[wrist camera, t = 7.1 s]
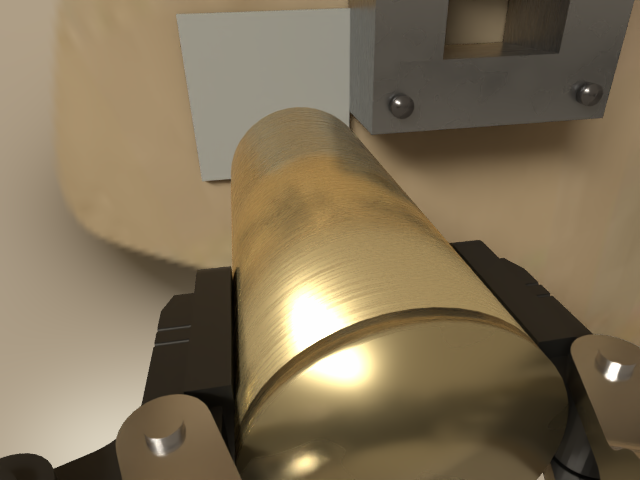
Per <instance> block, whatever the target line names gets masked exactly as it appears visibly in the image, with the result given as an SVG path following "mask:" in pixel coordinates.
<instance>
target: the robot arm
mask: <svg viewBox="0 0 640 480" xmlns="http://www.w3.org/2000/svg"><path fill="white" fill-rule="evenodd" d="M449 244H450V245H451V246H452V247H453V249H454V250H455V251H456V252H457V253H458V254H459V256H460V257H461V258H462V259H463V260H464V261H465V263H466V264H467V265H468V266H469V267H470V268H471V269H472V271H473V272H474V273H475V274H476V275H477V276H478V278H479V279H480V280H481V281H482V282H483V283H484V285H485V286H486V287H487V288H488V289H489V290H490V291H491V293H492V294H493V295H494V296H495V297H496V298H497V300H498V301H499V302H500V303H501V304H502V305H503V307H504V308H505V309H506V310H507V311H508V312H509V313H510V315H511V316H512V317H513V318H514V319H515V320H516V322H517V323H518V324H519V325H520V326H521V327H522V329H523V330H524V331H525V332H526V333H527V334H528V335H529V337H530V338H531V339H532V340H533V341H534V342H535V344H536V345H537V346H538V347H539V348H540V349H541V351H542V352H543V353H544V354H545V355H546V356H547V357H548V359H549V360H550V361H551V362H552V363H553V364H554V366H555V367H556V369H557V370H558V372H559V374H560V375H561V377H562V379H563V382H564V385H565V388H566V391H567V397H568V406H569V407H568V419H567V424H566V428H565V432H564V435H563V438H562V440H561V442H560V445H559V447H558V449H557V451H556V453H555V455H554V456H553V458H552V460H551V461H550V463H549V464H548V466H547V467H546V468H545V470H544V471H543V475H544V479H545V480H640V347H638V346H636V345H634V344H632V343H630V342H628V341H625V340H623V339H620V338H617V337H612V336H608V335H598V334H592V333H591V332H590V331H589V330H588V329H587V328H586V327H585V326H584V325H583V324H582V323H581V322H580V321H579V320H577V319H576V318H575V317H574V316H573V315H572V314H571V313H570V312H569V311H568V310H567V309H566V308H565V307H564V306H563V305H562V304H561V303H560V302H559V301H558V300H556V299H555V298H554V297H553V296H550V293H549V292H548V291H547V290H546V289H545V288H544V287H543V286H542V285H538V281H537V280H535V279H534V278H533V277H532V276H531V275H530V274H529V273H528V272H527V271H526V270H525V269H524V268H522V267H520V266H518V265H516V264H514V263H512V262H510V261H508V260H507V259H505V258H500V259H499V258H498V257H497V256H496V255H495V254H494V253H493V252H492V251H491V250H490V249H489V248H488V247H487V246H486V245H485V244H484V243H483V242H482V241H480V240H474V241H465V242H456V243H449ZM234 417H235V369H234V306H233V275H232V269H231V266H229V267H220V268H211V269H201V270H197V274H196V284H195V292H194V293H191V294H182V295H174V296H173V298H172V299H171V300H170V301H169V302H168V304H167V305H166V306H165V307H164V309H163V310H162V311H161V314H160V319H159V324H158V332H157V334H156V338H155V347H154V348H153V353H152V357H151V362H150V367H149V372H148V377H147V382H146V386H145V391H144V396H143V401H142V405H141V406H140V407H139V408H138V409H136V410H135V411H134V412H133V413H132V414H131V415H130V416H129V417H128V418H127V419H126V420H125V422H124V423H123V424H122V426H121V428H120V430H119V432H118V435H117V438H116V439H115V440H114V441H112V442H111V443H110V444H108V445H106V446H105V447H103V448H101V449H99V450H97V451H95V452H93V453H90V454H88V455H86V456H83V457H81V458H78V459H76V460H73V461H71V462H69V463H66V464H64V465H62V466H59V467H57V468H54V469H53V467H52V465H51V464H50V463H49V461H48V460H46V459H45V458H43V457H42V456H38V455H36V454H29V453H25V454H15V455H10V456H6V457H3V458H0V480H242V479H241V477H240V475H239V473H238V470H237V468H236V466H235V441H234Z"/></svg>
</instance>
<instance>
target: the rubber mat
mask: <svg viewBox="0 0 640 480" xmlns="http://www.w3.org/2000/svg"><path fill="white" fill-rule="evenodd" d="M176 17H177V24H178V30H179V36H180V43H181V49H182V55H183V62H184V68H185V74H186V81H187V87H188V94H189V100H190V106H191V113H192V119H193V125H194V132H195V138H196V144H197V151H198V157H199V164H200V170H201V176H202V181H210V180H223V179H231V166H232V161H233V156H234V153H235V151H236V148H237V146H238V144H239V142H240V141H241V139H242V138H243V136H244V135H245V134H246V132H247V131H248V130H249V129H250V128H251V127H252V126H253V125H254V124H255V123H257V122H258V121H259V120H261V119H262V118H264V117H266V116H267V115H269V114H271V113H274V112H276V111H279V110H283V109H287V108H294V107H308V108H315V109H318V110H322V111H325V112H327V113H329V114H332V115H333V116H335V117H337V118H338V119H340V120H341V121H342V122H343V123H345V124H346V125H347V126H348V127H349V85H350V8H338V9H310V10H281V11H253V12H224V13H196V14H176Z"/></svg>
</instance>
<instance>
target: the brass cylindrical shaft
mask: <svg viewBox="0 0 640 480" xmlns="http://www.w3.org/2000/svg"><path fill="white" fill-rule="evenodd" d="M231 217H232V275H233V306H234V369H235V417H234V441H235V466H236V468H237V470H238V473H239V475H240V477H241V479H242V480H537V478H538V477H539V476H540V475H541V474H542V472H543V471H544V470H545V468H546V467H547V466H548V464H549V463H550V461H551V460H552V458H553V456H554V455H555V453H556V451H557V449H558V447H559V445H560V442H561V440H562V438H563V435H564V432H565V428H566V424H567V419H568V407H569V406H568V397H567V391H566V388H565V385H564V382H563V379H562V377H561V375H560V374H559V372H558V370H557V369H556V367H555V366H554V364H553V363H552V362H551V361H550V360H549V359H548V357H547V356H546V355H545V354H544V353H543V352H542V351H541V349H540V348H539V347H538V346H537V345H536V344H535V342H534V341H533V340H532V339H531V338H530V337H529V335H528V334H527V333H526V332H525V331H524V330H523V329H522V327H521V326H520V325H519V324H518V323H517V322H516V320H515V319H514V318H513V317H512V316H511V315H510V313H509V312H508V311H507V310H506V309H505V308H504V307H503V305H502V304H501V303H500V302H499V301H498V300H497V298H496V297H495V296H494V295H493V294H492V293H491V291H490V290H489V289H488V288H487V287H486V286H485V285H484V283H483V282H482V281H481V280H480V279H479V278H478V276H477V275H476V274H475V273H474V272H473V271H472V269H471V268H470V267H469V266H468V265H467V264H466V263H465V261H464V260H463V259H462V258H461V257H460V256H459V254H458V253H457V252H456V251H455V250H454V249H453V247H452V246H451V245H450V244H449V243H448V242H447V241H446V239H445V238H444V237H443V236H442V235H441V234H440V232H439V231H438V230H437V229H436V228H435V227H434V225H433V224H432V223H431V222H430V221H429V220H428V219H427V217H426V216H425V215H424V214H423V213H422V212H421V210H420V209H419V208H418V207H417V206H416V205H415V203H414V202H413V201H412V200H411V199H410V198H409V197H408V195H407V194H406V193H405V192H404V191H403V190H402V188H401V187H400V186H399V185H398V184H397V183H396V181H395V180H394V179H393V178H392V177H391V176H390V175H389V173H388V172H387V171H386V170H385V169H384V168H383V166H382V165H381V164H380V163H379V162H378V161H377V159H376V158H375V157H374V156H373V155H372V154H371V153H370V151H369V150H368V149H367V148H366V147H365V146H364V144H363V143H362V142H361V141H360V140H359V139H358V137H357V136H356V135H355V134H354V133H353V132H352V131H351V129H350V128H349V127H348V126H347V125H346V124H345V123H343V122H342V121H341V120H340V119H338V118H337V117H335V116H333V115H332V114H329V113H327V112H325V111H322V110H318V109H315V108H308V107H294V108H287V109H283V110H279V111H276V112H274V113H271V114H269V115H267V116H266V117H264V118H262V119H261V120H259V121H258V122H257V123H255V124H254V125H253V126H252V127H251V128H250V129H249V130H248V131H247V132H246V134H245V135H244V136H243V138H242V139H241V141H240V142H239V144H238V146H237V148H236V151H235V153H234V156H233V161H232V166H231Z"/></svg>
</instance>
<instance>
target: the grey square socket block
mask: <svg viewBox="0 0 640 480" xmlns="http://www.w3.org/2000/svg"><path fill="white" fill-rule="evenodd" d="M448 3H449V0H349V8H350V85H349V111H350V112H351V113H352V114H353V115H354V116H355V117H356V119H357V120H358V121H359V122H360V123H361V124H362V125H363V126H364V127H365V128H366V129H367V130H368V131H369V132H370V133H371V134H372V135H374V134H388V133H401V132H415V131H429V130H443V129H456V128H470V127H484V126H498V125H511V124H525V123H539V122H553V121H566V120H580V119H594V118H603V114H604V111H605V107H606V103H607V100H608V96H609V92H610V89H611V85H612V81H613V77H614V74H615V70H616V66H617V63H618V59H619V55H620V51H621V48H622V44H623V40H624V37H625V33H626V29H627V26H628V22H629V18H630V14H631V11H632V7H633V3H634V0H509V5H508V11H507V18H506V24H505V31H504V37H503V42H495V43H474V44H453V45H444V44H445V33H446V23H447V13H448Z"/></svg>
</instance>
